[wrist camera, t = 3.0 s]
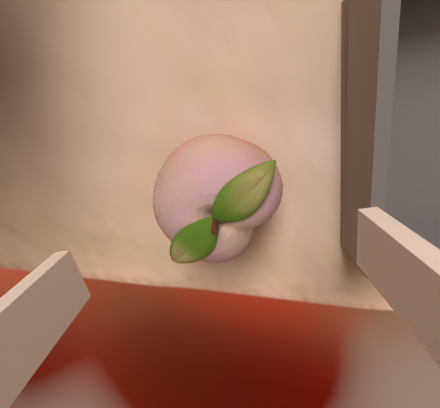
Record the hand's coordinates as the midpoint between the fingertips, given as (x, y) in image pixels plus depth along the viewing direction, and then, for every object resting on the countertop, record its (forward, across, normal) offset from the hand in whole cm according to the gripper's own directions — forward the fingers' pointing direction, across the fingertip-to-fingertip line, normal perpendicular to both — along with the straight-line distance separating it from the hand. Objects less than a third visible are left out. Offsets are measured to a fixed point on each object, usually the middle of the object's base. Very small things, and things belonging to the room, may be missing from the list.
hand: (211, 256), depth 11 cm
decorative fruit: (+12, 0, 0) cm, 12 cm away
